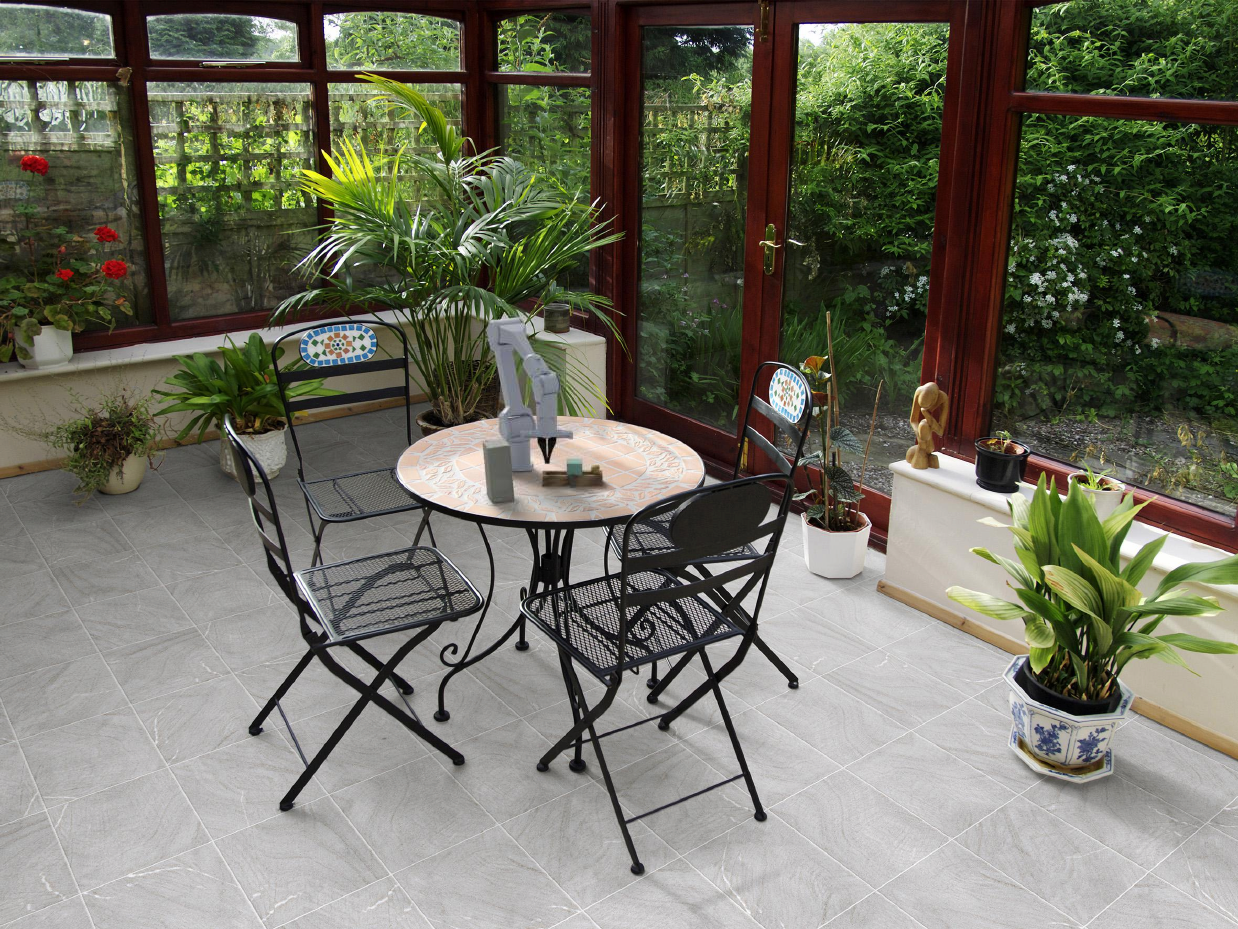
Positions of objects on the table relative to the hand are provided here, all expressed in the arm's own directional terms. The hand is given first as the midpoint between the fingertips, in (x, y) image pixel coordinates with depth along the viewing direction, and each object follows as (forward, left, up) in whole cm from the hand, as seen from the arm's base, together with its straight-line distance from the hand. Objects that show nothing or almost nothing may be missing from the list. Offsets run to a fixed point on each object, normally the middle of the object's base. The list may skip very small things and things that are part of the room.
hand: (547, 462), depth 311 cm
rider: (+8, 0, -5) cm, 9 cm away
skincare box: (-13, -12, -6) cm, 18 cm away
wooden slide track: (+7, 0, -6) cm, 9 cm away
